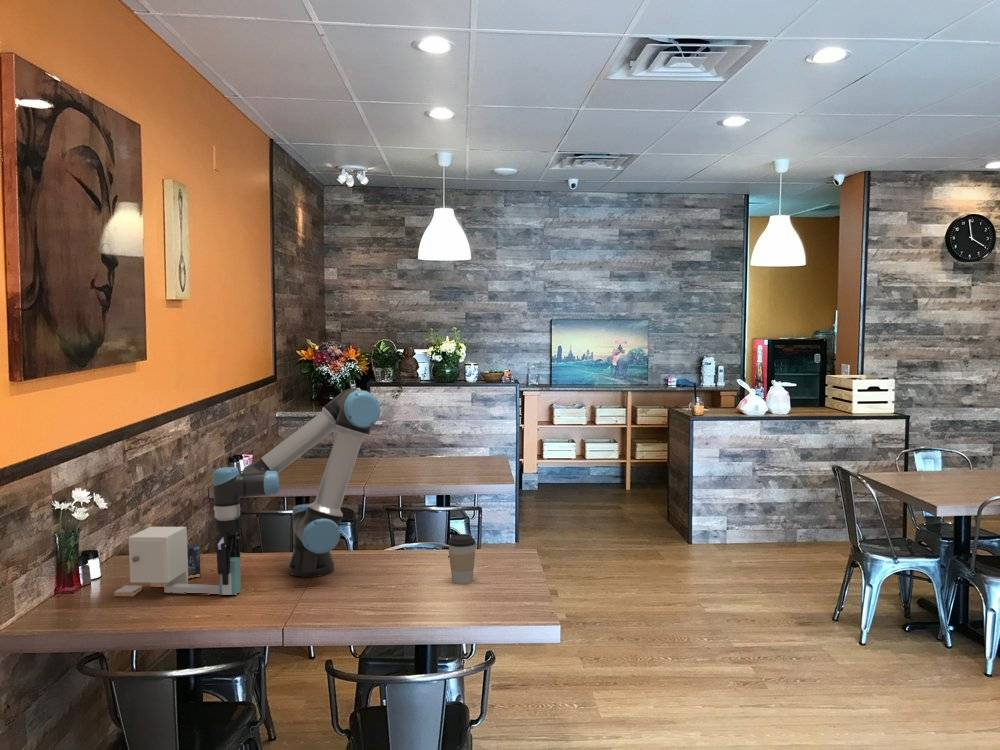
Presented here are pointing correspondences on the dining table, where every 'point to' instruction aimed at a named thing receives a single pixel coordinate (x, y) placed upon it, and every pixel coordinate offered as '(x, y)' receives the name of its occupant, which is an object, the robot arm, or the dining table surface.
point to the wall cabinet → (159, 555)
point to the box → (193, 559)
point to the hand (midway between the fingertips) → (230, 591)
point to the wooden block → (128, 589)
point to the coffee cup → (462, 558)
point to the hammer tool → (214, 589)
